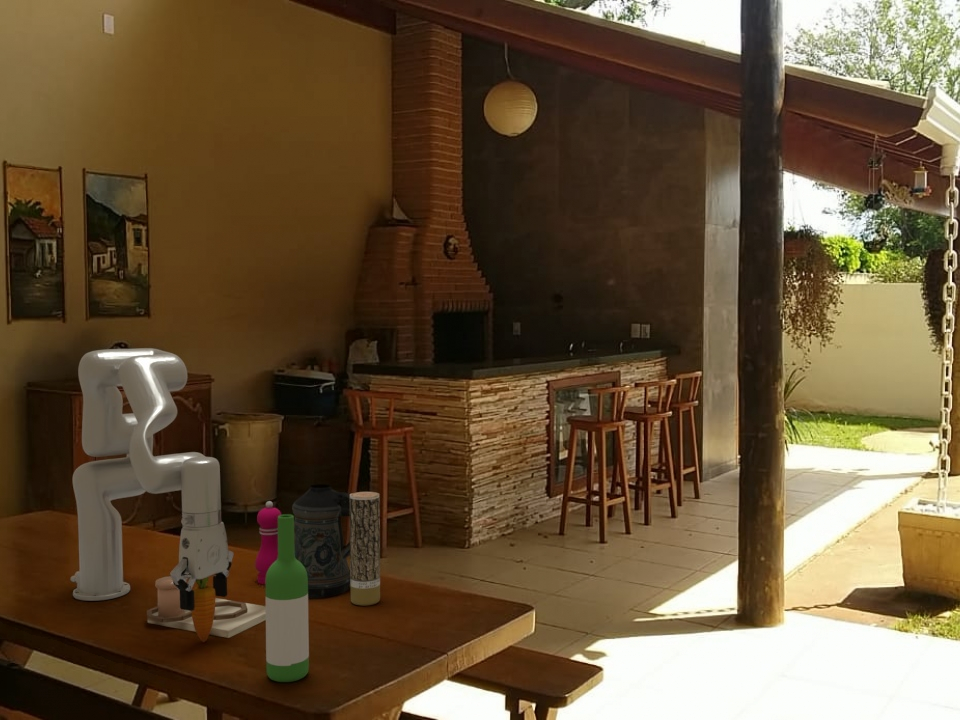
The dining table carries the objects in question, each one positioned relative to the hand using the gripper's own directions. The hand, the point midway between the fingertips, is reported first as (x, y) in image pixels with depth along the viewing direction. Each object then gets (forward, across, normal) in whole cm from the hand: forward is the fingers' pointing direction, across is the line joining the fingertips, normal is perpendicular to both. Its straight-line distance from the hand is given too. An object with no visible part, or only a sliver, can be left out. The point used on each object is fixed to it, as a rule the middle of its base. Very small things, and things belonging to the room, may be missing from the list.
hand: (204, 602), depth 193 cm
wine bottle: (+9, -7, -25) cm, 28 cm away
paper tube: (+9, +36, -15) cm, 40 cm away
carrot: (+8, 0, +1) cm, 9 cm away
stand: (+8, +11, +9) cm, 17 cm away
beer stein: (+8, +41, 0) cm, 42 cm away
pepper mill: (+8, +40, +15) cm, 44 cm away
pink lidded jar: (+6, +7, +16) cm, 18 cm away
